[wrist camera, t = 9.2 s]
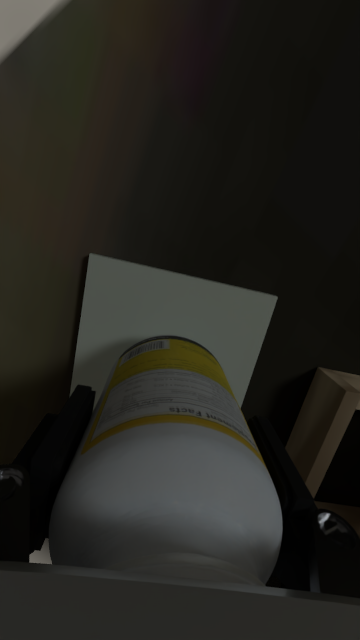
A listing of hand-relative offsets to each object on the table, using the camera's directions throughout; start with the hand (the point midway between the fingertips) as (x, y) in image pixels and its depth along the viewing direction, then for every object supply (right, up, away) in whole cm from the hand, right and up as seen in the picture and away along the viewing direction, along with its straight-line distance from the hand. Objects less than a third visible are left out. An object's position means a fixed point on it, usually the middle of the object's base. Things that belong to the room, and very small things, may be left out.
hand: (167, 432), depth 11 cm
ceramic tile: (0, +2, +6) cm, 6 cm away
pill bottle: (0, +1, +4) cm, 4 cm away
